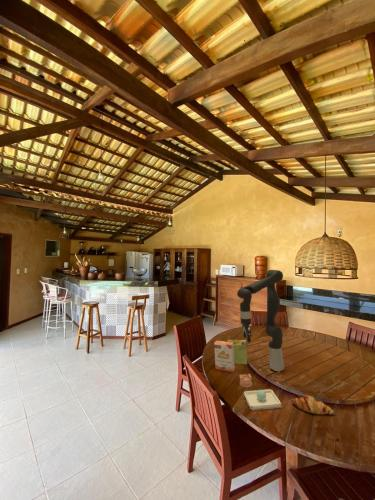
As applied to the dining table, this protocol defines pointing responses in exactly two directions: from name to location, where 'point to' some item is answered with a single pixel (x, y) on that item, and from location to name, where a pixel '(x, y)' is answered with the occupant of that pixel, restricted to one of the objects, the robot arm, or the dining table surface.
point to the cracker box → (224, 356)
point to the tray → (257, 404)
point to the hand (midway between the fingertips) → (247, 339)
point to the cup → (245, 380)
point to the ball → (261, 395)
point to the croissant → (312, 405)
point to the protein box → (239, 351)
